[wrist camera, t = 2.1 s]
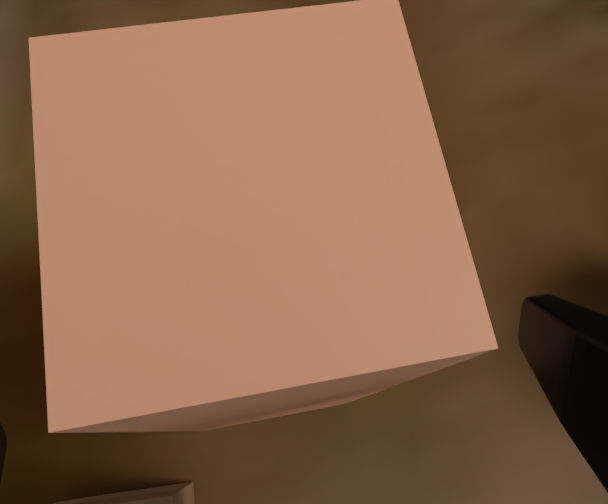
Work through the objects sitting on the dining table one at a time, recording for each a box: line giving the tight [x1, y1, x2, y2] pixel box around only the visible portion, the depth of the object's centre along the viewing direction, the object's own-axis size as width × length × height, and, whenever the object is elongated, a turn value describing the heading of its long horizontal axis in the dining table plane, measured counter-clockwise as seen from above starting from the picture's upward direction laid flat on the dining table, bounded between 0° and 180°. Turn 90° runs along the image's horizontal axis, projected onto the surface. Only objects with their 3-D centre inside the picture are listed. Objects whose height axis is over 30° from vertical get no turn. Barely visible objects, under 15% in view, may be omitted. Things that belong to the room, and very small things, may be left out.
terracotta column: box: [29, 0, 498, 433], centre depth 12 cm, size 4×4×13 cm
